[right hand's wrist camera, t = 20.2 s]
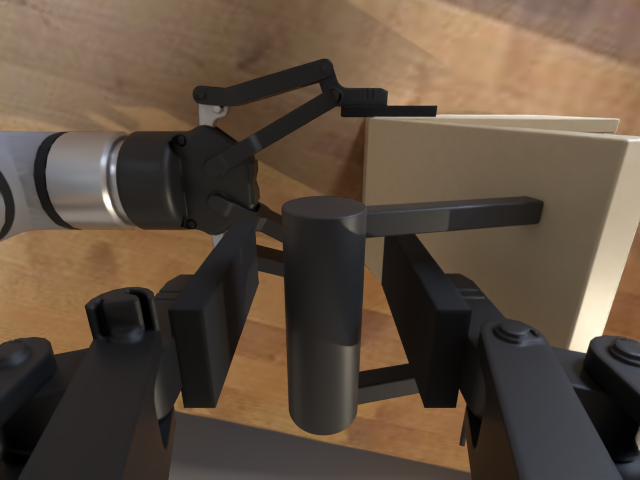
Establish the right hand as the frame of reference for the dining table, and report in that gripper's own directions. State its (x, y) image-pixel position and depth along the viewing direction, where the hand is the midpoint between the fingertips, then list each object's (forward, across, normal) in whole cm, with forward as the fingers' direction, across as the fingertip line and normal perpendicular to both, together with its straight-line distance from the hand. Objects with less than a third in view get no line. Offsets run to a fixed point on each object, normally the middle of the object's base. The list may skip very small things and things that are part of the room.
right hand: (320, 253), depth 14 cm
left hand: (+15, +8, 0) cm, 17 cm away
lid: (+3, +6, 0) cm, 7 cm away
